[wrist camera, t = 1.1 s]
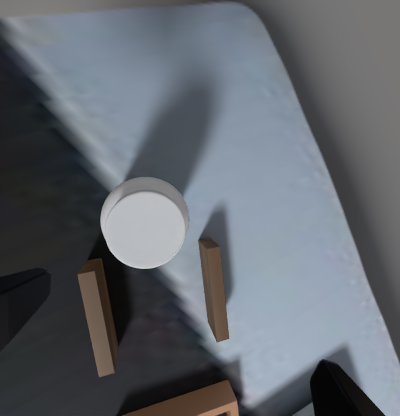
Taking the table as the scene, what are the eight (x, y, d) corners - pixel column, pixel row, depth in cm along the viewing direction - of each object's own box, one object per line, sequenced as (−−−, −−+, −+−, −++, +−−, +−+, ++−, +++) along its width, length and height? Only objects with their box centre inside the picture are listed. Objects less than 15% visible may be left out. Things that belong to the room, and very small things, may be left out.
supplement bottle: (111, 178, 19) (80, 178, 10) (173, 175, 21) (197, 171, 11) (118, 239, 20) (96, 291, 11) (177, 231, 22) (204, 272, 12)
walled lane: (105, 350, 21) (99, 377, 18) (87, 260, 20) (77, 274, 17) (218, 319, 24) (229, 338, 21) (209, 237, 22) (219, 246, 19)
